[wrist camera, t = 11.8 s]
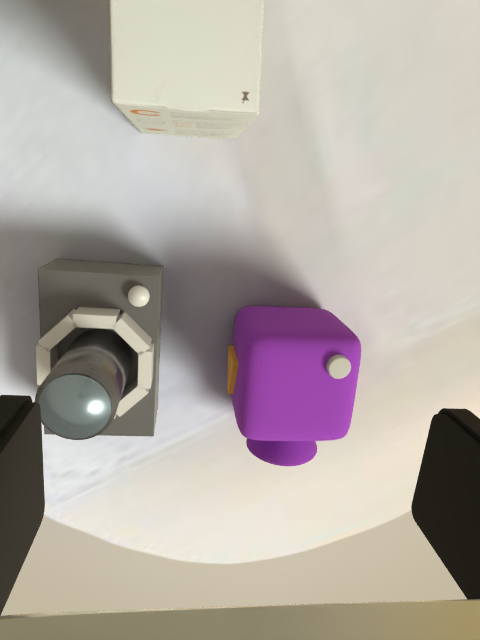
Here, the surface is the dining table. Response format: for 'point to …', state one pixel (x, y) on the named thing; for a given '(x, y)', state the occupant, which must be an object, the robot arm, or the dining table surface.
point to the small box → (187, 65)
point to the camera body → (106, 327)
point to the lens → (85, 385)
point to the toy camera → (291, 380)
